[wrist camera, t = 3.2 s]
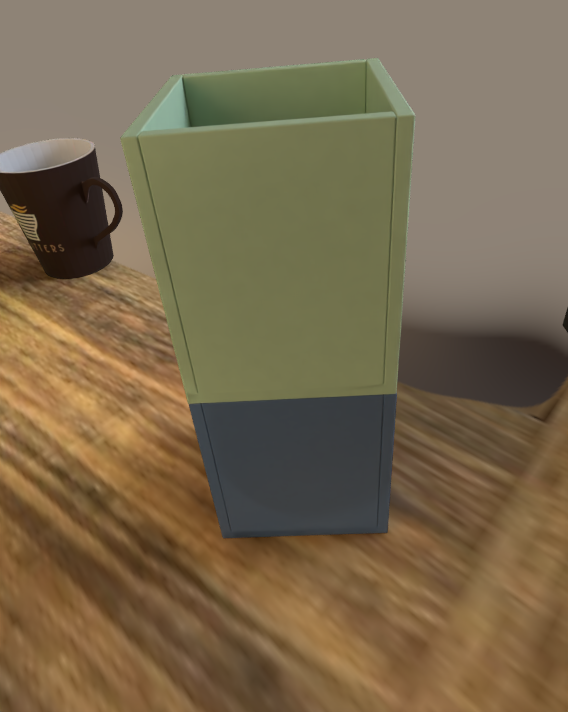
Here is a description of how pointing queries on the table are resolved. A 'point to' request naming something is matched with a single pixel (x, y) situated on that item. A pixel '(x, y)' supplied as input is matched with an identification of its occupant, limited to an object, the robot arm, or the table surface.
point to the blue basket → (299, 464)
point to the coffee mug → (60, 204)
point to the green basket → (278, 227)
